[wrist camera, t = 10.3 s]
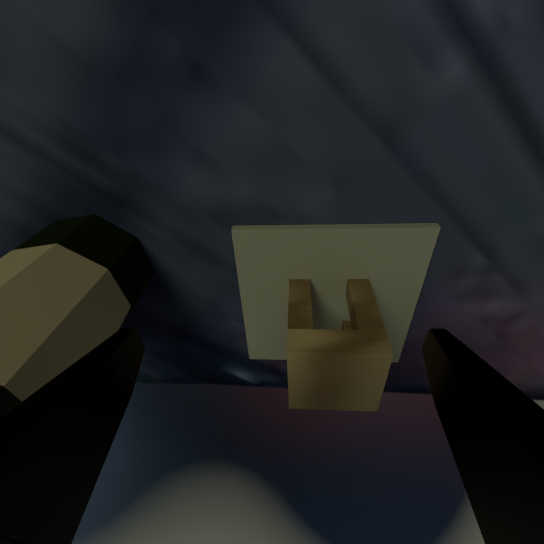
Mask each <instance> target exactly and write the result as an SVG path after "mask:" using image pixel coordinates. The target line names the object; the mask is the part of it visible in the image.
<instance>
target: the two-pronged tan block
mask: <svg viewBox="0 0 544 544" xmlns="http://www.w3.org/2000/svg"><path fill="white" fill-rule="evenodd" d="M345 296H346V301H347V305H348V310H349V315H350V320H351V321H342V329H341V330H336V329H313V318H312V302H311V286H310V279H289V299H288V331H287V369H288V392H289V409H318V410H348V411H351V410H352V411H378V408H379V404H380V401H381V397H382V394H383V390H384V387H385V383H386V379H387V376H388V372H389V369H390V365H391V362H392V358H393V354H394V353H393V350H392V347H391V344H390V341H389V338H388V335H387V332H386V329H385V326H384V323H383V320H382V317H381V314H380V311H379V308H378V305H377V302H376V299H375V296H374V293H373V290H372V287H371V284H370V281H369V279H347V285H346V294H345Z"/></svg>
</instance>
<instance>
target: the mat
mask: <svg viewBox="0 0 544 544" xmlns="http://www.w3.org/2000/svg"><path fill="white" fill-rule="evenodd" d="M440 228H441V227H440V226H439V225H438V224H437V223H413V224H332V225H252V226H232V229H231V232H232V239H233V246H234V253H235V260H236V267H237V274H238V281H239V288H240V295H241V302H242V310H243V317H244V324H245V331H246V338H247V345H248V352H249V359H275V360H287V331H288V299H289V279H310V286H311V302H312V318H313V329H336V330H341V329H342V321H351V320H350V315H349V310H348V305H347V301H346V296H345V294H346V285H347V279H369V281H370V284H371V287H372V290H373V293H374V296H375V299H376V302H377V305H378V308H379V311H380V314H381V317H382V320H383V323H384V326H385V329H386V332H387V335H388V338H389V341H390V344H391V347H392V350H393V353H394V354H393V358H392V362H398V361H399V358H400V355H401V352H402V349H403V345H404V342H405V339H406V336H407V333H408V330H409V326H410V323H411V320H412V317H413V314H414V311H415V307H416V304H417V301H418V298H419V295H420V291H421V288H422V285H423V282H424V279H425V276H426V272H427V269H428V266H429V263H430V260H431V257H432V253H433V250H434V247H435V244H436V241H437V237H438V234H439V231H440Z"/></svg>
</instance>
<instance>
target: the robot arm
mask: <svg viewBox="0 0 544 544" xmlns="http://www.w3.org/2000/svg"><path fill="white" fill-rule="evenodd" d="M144 351H145V346H144V342H143V340H142V338H141V336H140V334H139V332H138V330H137V329H136V328H121V329H120V330H118V331H117V332H116V333H114V334H113V335H112V336H110V337H109V338H107V339H106V340H105V341H103V342H102V343H101V344H99V345H98V346H97V347H95V348H94V349H93V350H91V351H90V352H88V353H87V354H86V355H84V356H83V357H82V358H80V359H79V360H78V361H76V362H75V363H74V364H72V365H71V366H69V367H68V368H67V369H65V370H64V371H63V372H61V373H60V374H59V375H57V376H56V377H55V378H53V379H52V380H51V381H49V382H48V383H46V384H45V385H44V386H42V387H41V388H40V389H38V390H37V391H36V392H34V393H33V394H32V395H30V396H29V397H27V398H26V399H25V400H23V401H22V402H21V403H19V404H18V405H17V406H15V407H14V408H13V409H11V410H10V411H8V412H7V413H6V414H5V416H2V417H0V544H72V541H73V539H74V536H75V534H76V531H77V529H78V526H79V524H80V521H81V519H82V516H83V514H84V511H85V509H86V507H87V504H88V501H89V499H90V497H91V494H92V492H93V489H94V487H95V484H96V482H97V479H98V477H99V474H100V472H101V470H102V467H103V464H104V462H105V459H106V457H107V455H108V452H109V450H110V447H111V445H112V442H113V440H114V438H115V435H116V433H117V430H118V428H119V425H120V423H121V420H122V418H123V415H124V413H125V410H126V408H127V405H128V403H129V400H130V397H131V395H132V392H133V389H134V385H135V382H136V379H137V375H138V372H139V368H140V365H141V361H142V358H143V354H144ZM422 353H423V358H424V362H425V366H426V370H427V375H428V379H429V383H430V387H431V391H432V395H433V399H434V402H435V406H436V409H437V412H438V415H439V418H440V421H441V423H442V426H443V429H444V432H445V434H446V437H447V440H448V443H449V445H450V448H451V451H452V454H453V456H454V459H455V462H456V465H457V467H458V470H459V473H460V475H461V478H462V481H463V484H464V487H465V489H466V492H467V495H468V498H469V500H470V503H471V506H472V509H473V511H474V514H475V517H476V520H477V522H478V525H479V528H480V530H481V534H482V536H483V539H484V542H485V544H544V409H542V408H541V407H540V406H539V405H538V404H536V403H535V402H534V401H533V400H531V399H530V398H529V397H528V396H527V395H525V394H524V393H523V392H522V391H520V390H519V389H518V388H517V387H516V386H514V385H513V384H512V383H511V382H510V381H508V380H507V379H506V378H505V377H503V376H502V375H501V374H500V373H499V372H497V371H496V370H495V369H494V368H492V367H491V366H490V365H489V364H488V363H486V362H485V361H484V360H483V359H481V358H480V357H479V356H478V355H477V354H475V353H474V352H473V351H472V350H470V349H469V348H468V347H467V346H466V345H464V344H463V343H462V342H461V341H460V340H458V339H457V338H456V337H455V336H453V335H452V334H451V333H450V332H449V331H447V330H446V329H429V330H428V332H427V335H426V338H425V341H424V344H423V348H422Z"/></svg>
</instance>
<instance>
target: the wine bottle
mask: <svg viewBox="0 0 544 544" xmlns="http://www.w3.org/2000/svg"><path fill="white" fill-rule="evenodd" d="M153 273H154V270H153V268H152V266H151V264H150V262H149V260H148V258H147V256H146V254H145V252H144V251H143V249H142V247H141V245H140V243H139V241H138V239H137V237H135V236H133V235H132V234H130V233H128V232H126V231H124V230H122V229H121V228H119V227H117V226H115V225H113V224H111V223H110V222H108V221H106V220H104V219H102V218H100V217H98V216H97V215H95V214H93V215H87V216H81V217H75V218H69V219H63V220H57V221H55V222H54V223H52V224H51V225H49V226H48V227H46V228H45V229H43V230H42V231H40V232H39V233H37V234H36V235H34V236H33V237H31V238H30V239H28V240H27V241H25V242H24V243H23V244H21V245H20V246H18V247H17V248H15V249H14V250H12V251H11V252H9V253H8V254H6V255H5V256H3V257H2V258H0V417H2V416H5V414H6V413H7V412H8V411H10V410H11V409H13V408H14V407H15V406H17V405H18V404H19V403H21V402H22V401H23V400H25V399H26V398H27V397H29V396H30V395H32V394H33V393H34V392H36V391H37V390H38V389H40V388H41V387H42V386H44V385H45V384H46V383H48V382H49V381H51V380H52V379H53V378H55V377H56V376H57V375H59V374H60V373H61V372H63V371H64V370H65V369H67V368H68V367H69V366H71V365H72V364H74V363H75V362H76V361H78V360H79V359H80V358H82V357H83V356H84V355H86V354H87V353H88V352H90V351H91V350H93V349H94V348H95V347H97V346H98V345H99V344H101V343H102V342H103V341H105V340H106V339H107V338H109V337H110V336H112V335H113V334H114V333H116V332H117V331H118V330H119V329H120V327H121V326H122V324H123V323H124V321H125V319H126V318H127V316H128V315H129V313H130V312H131V310H132V309H133V307H134V306H135V304H136V303H137V301H138V300H139V298H140V297H141V295H142V293H143V291H144V289H145V288H146V286H147V284H148V282H149V280H150V278H151V277H152V275H153Z"/></svg>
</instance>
